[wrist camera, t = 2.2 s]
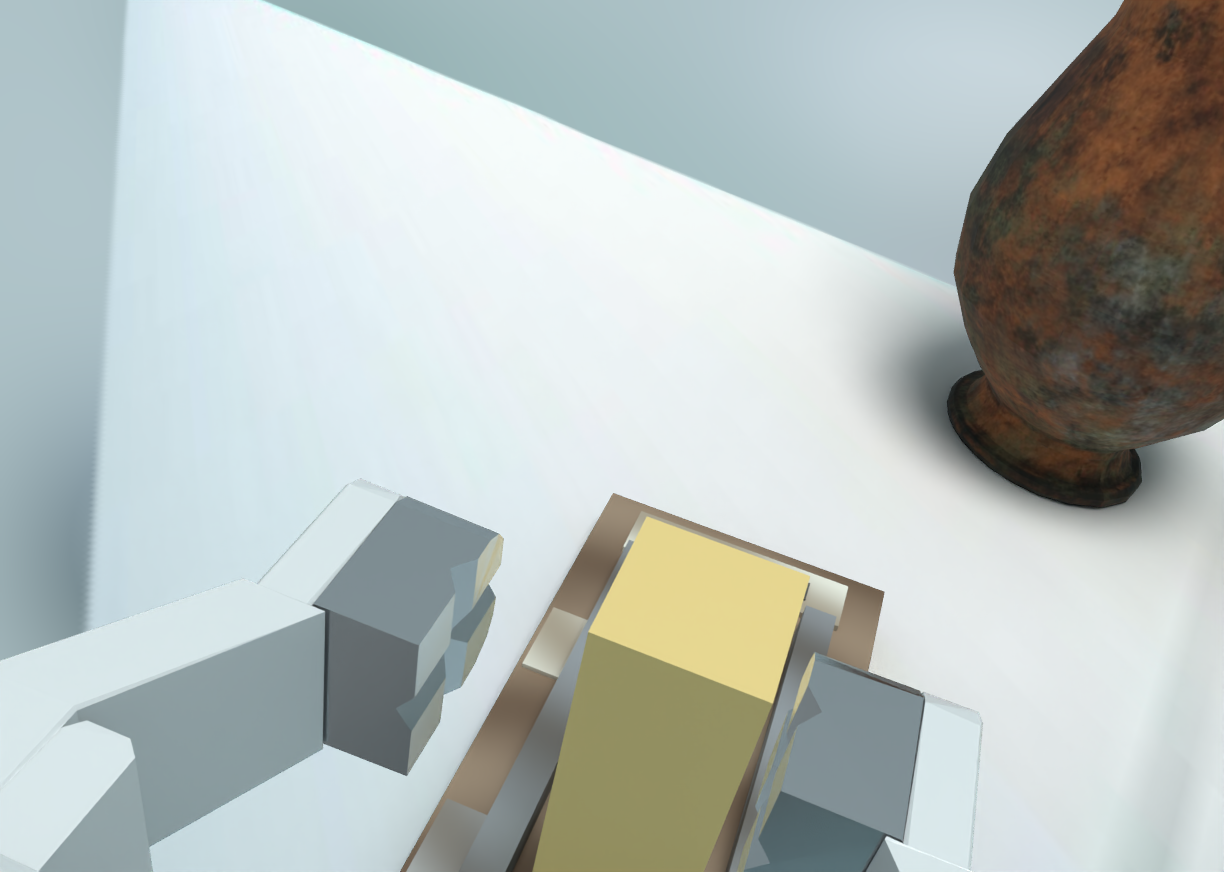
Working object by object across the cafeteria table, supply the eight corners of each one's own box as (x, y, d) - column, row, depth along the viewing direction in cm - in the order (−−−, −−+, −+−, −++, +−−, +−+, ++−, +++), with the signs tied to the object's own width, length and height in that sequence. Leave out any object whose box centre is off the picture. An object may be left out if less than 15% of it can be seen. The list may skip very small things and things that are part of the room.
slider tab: (648, 1030, 30) (777, 726, 22) (500, 964, 31) (570, 645, 22) (697, 874, 34) (822, 565, 26) (564, 818, 34) (645, 500, 26)
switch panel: (710, 1357, 26) (746, 1314, 24) (269, 1138, 28) (266, 1082, 26) (869, 624, 46) (896, 566, 44) (605, 526, 48) (619, 466, 46)
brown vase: (1050, 339, 69) (1319, -202, 50) (1332, 582, 54) (1854, -55, 36) (830, 362, 62) (1047, -250, 44) (1082, 646, 48) (1566, -94, 29)
